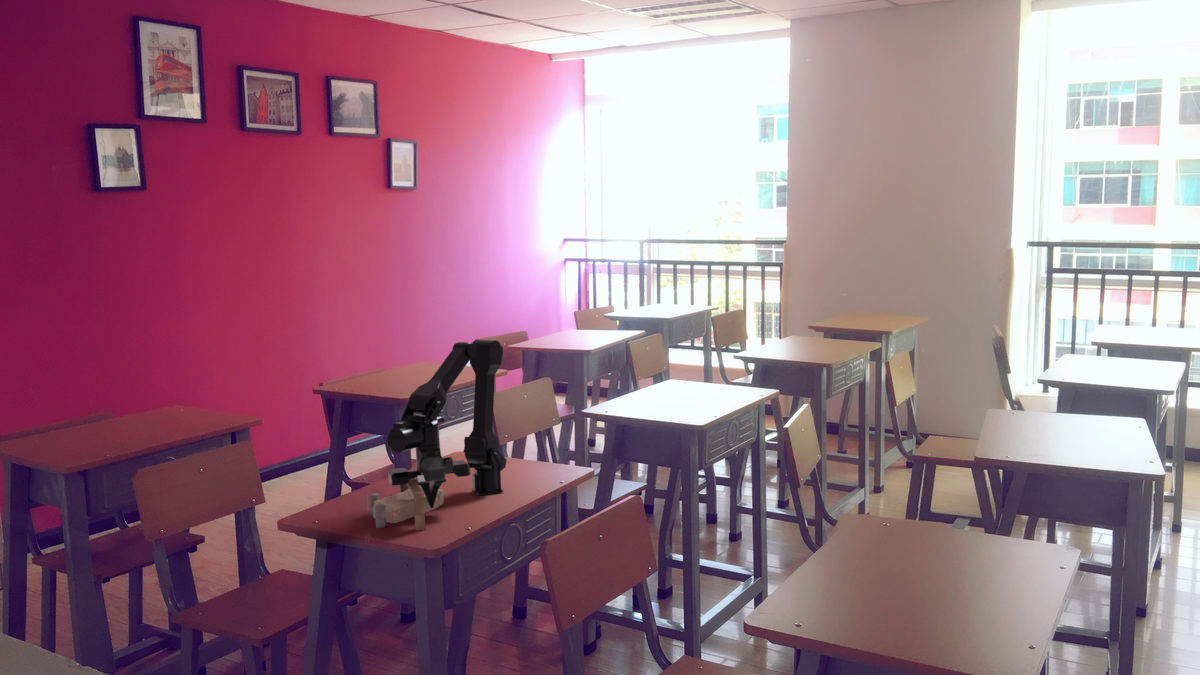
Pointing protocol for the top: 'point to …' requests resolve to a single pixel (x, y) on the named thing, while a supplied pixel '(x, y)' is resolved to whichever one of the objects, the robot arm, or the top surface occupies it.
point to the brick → (405, 505)
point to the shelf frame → (418, 506)
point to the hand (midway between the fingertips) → (431, 507)
